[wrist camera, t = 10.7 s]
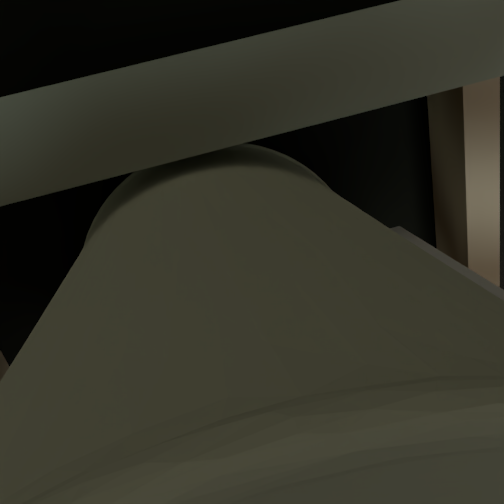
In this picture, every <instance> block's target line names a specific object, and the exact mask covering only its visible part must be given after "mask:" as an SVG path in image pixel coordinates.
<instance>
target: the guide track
mask: <svg viewBox="0 0 504 504" xmlns="http://www.w3.org/2000/svg"><path fill="white" fill-rule="evenodd" d="M501 76H504V0H400V1H395V2H391V3H387V4H383V5H379V6H375V7H371V8H367V9H362V10H358V11H354V12H350V13H346V14H342V15H338V16H334V17H329V18H325V19H321V20H317V21H313V22H309V23H305V24H301V25H297V26H292V27H288V28H284V29H280V30H276V31H272V32H268V33H264V34H259V35H255V36H251V37H247V38H243V39H239V40H235V41H231V42H227V43H222V44H218V45H214V46H210V47H206V48H202V49H198V50H194V51H189V52H185V53H181V54H177V55H173V56H169V57H165V58H161V59H156V60H152V61H148V62H144V63H140V64H136V65H132V66H128V67H124V68H119V69H115V70H111V71H107V72H103V73H99V74H95V75H91V76H86V77H82V78H78V79H74V80H70V81H66V82H62V83H58V84H54V85H49V86H45V87H41V88H37V89H33V90H29V91H25V92H21V93H16V94H12V95H8V96H4V97H0V206H4V205H8V204H11V203H15V202H19V201H23V200H27V199H31V198H35V197H38V196H42V195H46V194H50V193H54V192H58V191H61V190H65V189H69V188H73V187H77V186H81V185H85V184H88V183H92V182H96V181H100V180H104V179H108V178H112V177H115V176H119V175H123V174H127V173H131V172H135V171H139V170H142V169H146V168H150V167H154V166H158V165H162V164H165V163H169V162H173V161H177V160H181V159H185V158H189V157H192V156H196V155H200V154H204V153H208V152H212V151H216V150H219V149H223V148H227V147H231V146H235V145H239V144H243V143H246V142H250V141H254V140H258V139H262V138H266V137H269V136H273V135H277V134H281V133H285V132H289V131H293V130H296V129H300V128H304V127H308V126H312V125H316V124H320V123H323V122H327V121H331V120H335V119H339V118H343V117H347V116H350V115H354V114H358V113H362V112H366V111H370V110H373V109H377V108H381V107H385V106H389V105H393V104H397V103H400V102H404V101H408V100H412V99H416V98H420V97H424V96H427V102H428V118H429V134H430V150H431V166H432V182H433V198H434V215H435V231H436V247H437V249H438V250H439V251H441V252H443V253H444V254H446V255H447V256H449V257H451V258H452V259H454V260H456V261H457V262H459V263H460V264H462V265H464V266H465V267H467V268H469V269H470V270H472V271H473V272H475V273H477V274H478V275H480V276H482V277H483V278H485V279H486V280H488V281H490V282H491V283H493V284H495V285H496V286H498V287H500V77H501ZM8 368H9V365H8V363H7V361H6V359H5V358H4V356H3V354H2V352H1V350H0V381H1V379H2V378H3V376H4V375H5V373H6V372H7V370H8Z"/></svg>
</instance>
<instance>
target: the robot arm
mask: <svg viewBox="0 0 504 504" xmlns="http://www.w3.org/2000/svg"><path fill="white" fill-rule="evenodd" d="M390 229H391V230H392V231H394V232H396V233H397V234H399V235H400V236H402V237H403V238H405V239H407V240H408V241H410V242H411V243H413V244H415V245H416V246H418V247H419V248H421V249H422V250H424V251H426V252H427V253H429V254H430V255H432V256H434V257H435V258H437V259H438V260H440V261H441V262H443V263H445V264H446V265H448V266H449V267H451V268H453V269H454V270H456V271H457V272H459V273H460V274H462V275H464V276H465V277H467V278H468V279H470V280H472V281H473V282H475V283H476V284H478V285H479V286H481V287H483V288H484V289H486V290H487V291H489V292H491V293H492V294H494V295H495V296H497V297H498V298H500V299H502V300H503V301H504V290H503V289H501V288H500V287H498V286H496V285H495V284H493V283H491V282H490V281H488V280H486V279H485V278H483V277H482V276H480V275H478V274H477V273H475V272H473V271H472V270H470V269H469V268H467V267H465V266H464V265H462V264H460V263H459V262H457V261H456V260H454V259H452V258H451V257H449V256H447V255H446V254H444V253H443V252H441V251H439V250H438V249H436V248H434V247H433V246H431V245H430V244H428V243H426V242H425V241H423V240H421V239H420V238H418V237H417V236H415V235H413V234H412V233H410V232H408V231H407V230H405V229H404V228H402V227H400V226H397V227H394V228H390Z"/></svg>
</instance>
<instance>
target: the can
mask: <svg viewBox="0 0 504 504" xmlns="http://www.w3.org/2000/svg"><path fill="white" fill-rule="evenodd" d="M0 504H504V301H503V300H502V299H500V298H498V297H497V296H495V295H494V294H492V293H491V292H489V291H487V290H486V289H484V288H483V287H481V286H479V285H478V284H476V283H475V282H473V281H472V280H470V279H468V278H467V277H465V276H464V275H462V274H460V273H459V272H457V271H456V270H454V269H453V268H451V267H449V266H448V265H446V264H445V263H443V262H441V261H440V260H438V259H437V258H435V257H434V256H432V255H430V254H429V253H427V252H426V251H424V250H422V249H421V248H419V247H418V246H416V245H415V244H413V243H411V242H410V241H408V240H407V239H405V238H403V237H402V236H400V235H399V234H397V233H396V232H394V231H392V230H391V229H389V228H388V227H386V226H385V225H383V224H382V223H380V222H379V221H377V220H376V219H374V218H373V217H371V216H370V215H368V214H366V213H365V212H363V211H362V210H360V209H359V208H357V207H356V206H354V205H353V204H351V203H350V202H348V201H347V200H345V199H343V198H342V197H340V196H339V195H338V194H336V193H335V192H333V191H332V190H331V189H330V188H329V187H328V185H327V184H326V183H325V182H324V181H323V180H322V179H321V178H320V177H318V176H317V175H316V174H315V173H314V172H313V171H311V170H310V169H309V168H307V167H306V166H304V165H303V164H301V163H300V162H298V161H296V160H294V159H292V158H291V157H289V156H287V155H285V154H282V153H280V152H277V151H275V150H272V149H269V148H265V147H262V146H258V145H253V144H246V143H243V144H239V145H235V146H231V147H227V148H223V149H219V150H216V151H212V152H208V153H204V154H200V155H196V156H192V157H189V158H185V159H181V160H177V161H173V162H169V163H165V164H162V165H158V166H154V167H150V168H146V169H142V170H139V171H135V172H133V173H132V174H131V175H130V176H128V177H127V178H126V179H125V180H124V181H123V182H122V183H121V184H120V185H119V186H118V187H117V188H116V189H115V190H114V191H113V192H112V193H111V195H110V196H109V197H108V198H107V199H106V201H105V202H104V203H103V205H102V206H101V208H100V209H99V211H98V213H97V215H96V216H95V218H94V220H93V222H92V224H91V227H90V229H89V231H88V234H87V236H86V240H85V243H84V247H83V249H82V251H81V253H80V255H79V256H78V258H77V259H76V261H75V263H74V264H73V266H72V267H71V269H70V271H69V272H68V274H67V276H66V277H65V279H64V280H63V282H62V284H61V285H60V287H59V289H58V290H57V292H56V293H55V295H54V297H53V298H52V300H51V301H50V303H49V305H48V306H47V308H46V310H45V311H44V313H43V314H42V316H41V318H40V319H39V321H38V322H37V324H36V326H35V327H34V329H33V331H32V332H31V334H30V335H29V337H28V339H27V340H26V342H25V343H24V345H23V347H22V348H21V350H20V351H19V353H18V354H17V356H16V358H15V359H14V361H13V362H12V364H11V365H10V367H9V368H8V370H7V372H6V373H5V375H4V376H3V378H2V379H1V381H0Z"/></svg>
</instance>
